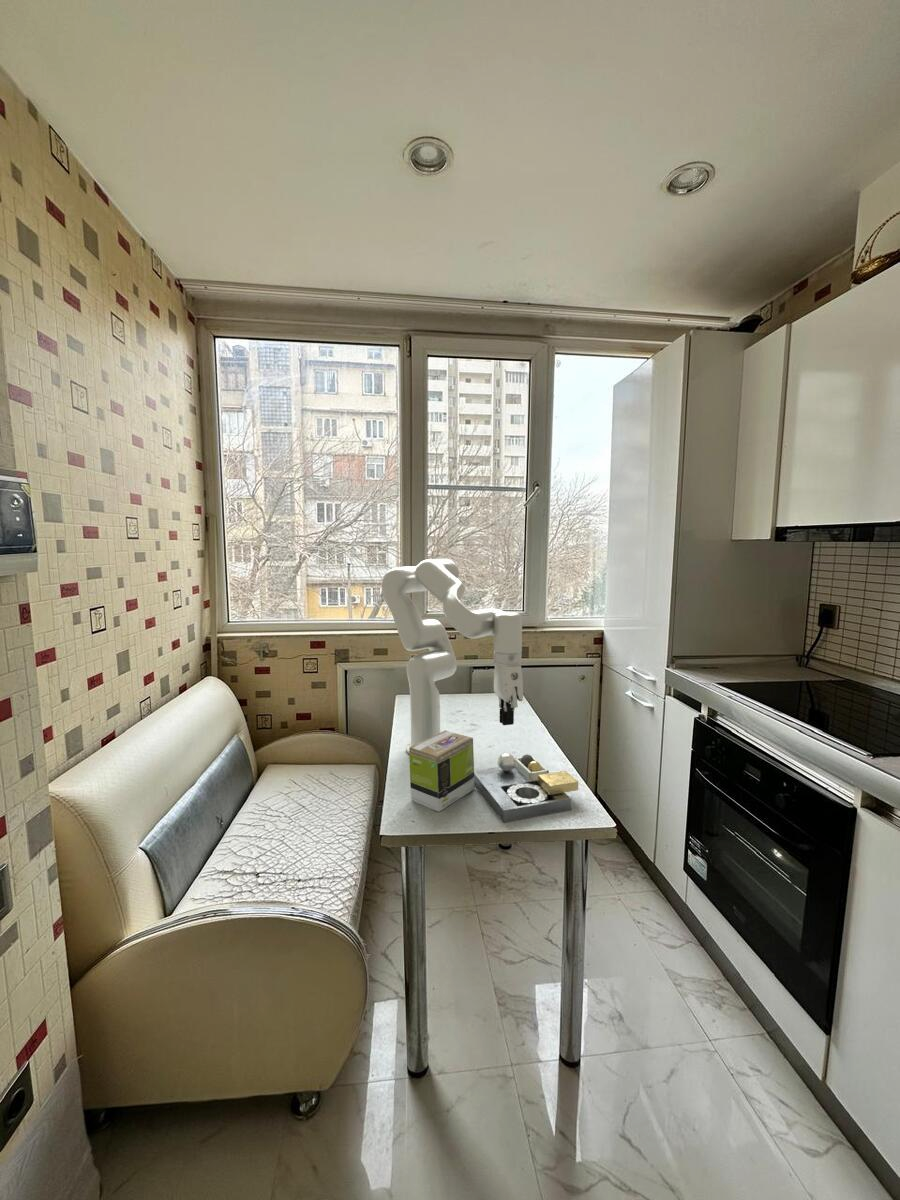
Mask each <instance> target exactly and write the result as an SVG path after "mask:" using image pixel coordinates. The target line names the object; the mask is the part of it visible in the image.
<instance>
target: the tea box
mask: <svg viewBox="0 0 900 1200" xmlns="http://www.w3.org/2000/svg"><path fill="white" fill-rule="evenodd" d="M408 755H409V774H410V775H409V779H410V782H409V783H410V800H411V801H412V802H414V803H417V804H419V805H421V806H424V807H426V808H429V809H431V810H433V811H435V812H441V811H443V810H444V809H446V808H447V807H449V806H450V805H452V804H454V803H455V802H456V801H458V800H460V799H462V798H463V797H464V796H466V795H467V794H469V793H471V792H472V791H474V790H475V784H474V771H475V759H474V757H475V756H474V755H475V754H474V737H471V736H468V735H463V734H459V733H456V732H452V731H449V730H443V731H440V733H439V734H437V735H435V736H432V737H430V738H428V739H426V740H424V741H422V742H420V743H417V744H415V745H414V746H411V747H409V753H408Z"/></svg>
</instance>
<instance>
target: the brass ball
mask: <svg viewBox="0 0 900 1200" xmlns="http://www.w3.org/2000/svg"><path fill="white" fill-rule="evenodd" d="M537 761H538V760H537ZM537 761H532V762H530V763H529V765H528V770H529V771H530V772H536V771H541V765H540V763H541V762H540V761H538V762H537ZM539 762H540V763H539Z"/></svg>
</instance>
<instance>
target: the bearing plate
mask: <svg viewBox="0 0 900 1200" xmlns="http://www.w3.org/2000/svg"><path fill="white" fill-rule="evenodd" d="M474 786H476V788H477V790H478V791H479V792H480V793H481V794H482V796H483V798H485V800H486V801H487V803H488V804H489V805H490V807H491V808H492V809H493V811H494V812H495V813H496V814H497V816H498V817H499V818H500V820H501V821H502V822H503V823H509V822H515V821H521V820H525V819H531V818H537V817H542V816H548V815H553V814H559V813H564V812H569V811H572V798H571V797H570V796H569V795H568V794H566V792H564V793H558V794H553V795H549V794H548V793H547V792H546V791H545V790H544V789H543V788H542V787H541V786H540V785H539V784H538V780H536V781H529V780H528V779H527V778H526V777H525V776H524V775H523V774H522V773H521V772H520V771H519V770H518V769H517V768H516V767H514V769H513V770H512V771H510V772H504V771H502V770H501V769H500V768H499V766H496V767H489V768H481V769H477V770H475V769H474Z"/></svg>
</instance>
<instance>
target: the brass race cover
mask: <svg viewBox="0 0 900 1200" xmlns="http://www.w3.org/2000/svg"><path fill="white" fill-rule="evenodd" d="M538 784H539V785H540V786H541V787H542V788H543V789H544V790H545V791H546V792H547V793H548V794H549V795H553V794H558V793H569V792H575V791H578V790H579V781H578V780H577V779H576V778H575V777H574V776H573V775H571V773H569V772H568V771H566V770H562V771H555V772H549V773H548V774H541V775H538Z"/></svg>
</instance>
